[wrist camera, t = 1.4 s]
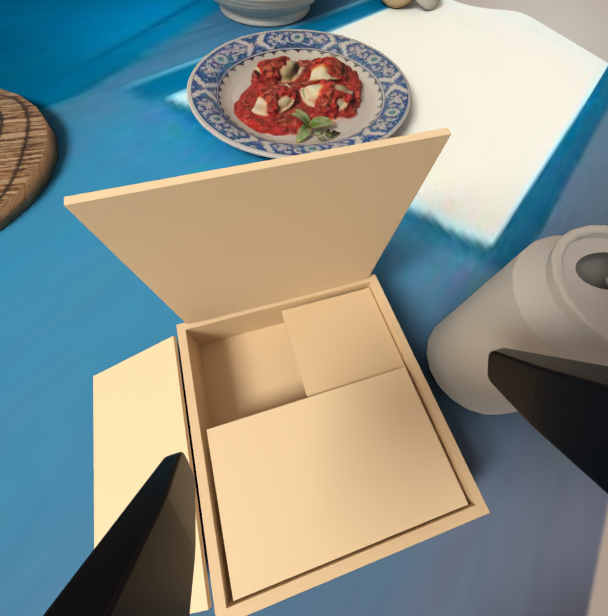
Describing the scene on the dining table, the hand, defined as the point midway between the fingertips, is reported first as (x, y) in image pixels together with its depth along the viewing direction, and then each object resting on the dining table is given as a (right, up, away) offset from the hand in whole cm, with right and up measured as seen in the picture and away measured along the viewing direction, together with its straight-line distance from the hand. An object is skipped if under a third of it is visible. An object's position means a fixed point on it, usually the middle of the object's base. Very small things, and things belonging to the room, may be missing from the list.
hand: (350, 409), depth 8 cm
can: (+11, -1, +14) cm, 18 cm away
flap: (-3, +3, +11) cm, 12 cm away
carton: (-4, -5, +12) cm, 13 cm away
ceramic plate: (-2, +28, +28) cm, 40 cm away
